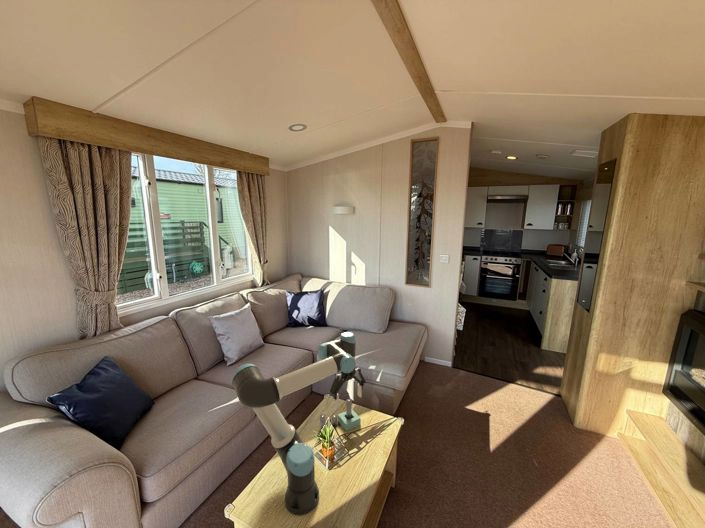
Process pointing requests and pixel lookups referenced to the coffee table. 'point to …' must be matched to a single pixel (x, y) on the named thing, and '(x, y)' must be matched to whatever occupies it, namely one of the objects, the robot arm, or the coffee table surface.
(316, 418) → the coffee table surface
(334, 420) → the short steel pin
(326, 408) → the coffee table surface
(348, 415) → the long steel pin
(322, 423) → the medium steel pin
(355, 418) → the teal collar block
